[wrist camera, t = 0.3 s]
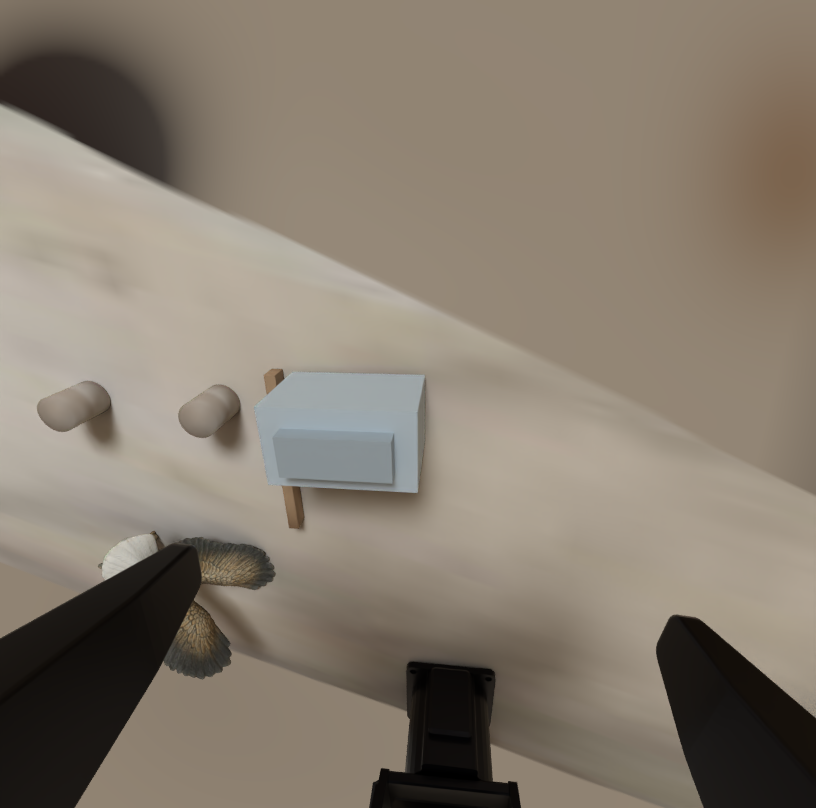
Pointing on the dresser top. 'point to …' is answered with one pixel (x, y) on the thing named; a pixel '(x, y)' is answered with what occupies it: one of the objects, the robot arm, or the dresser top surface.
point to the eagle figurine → (198, 634)
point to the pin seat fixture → (193, 416)
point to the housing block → (344, 431)
